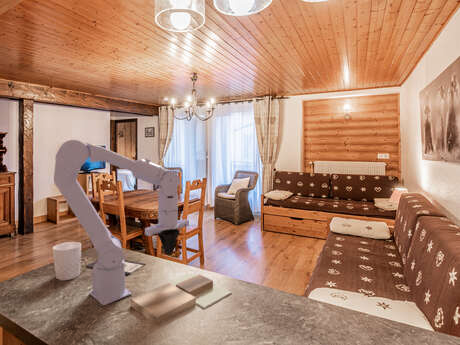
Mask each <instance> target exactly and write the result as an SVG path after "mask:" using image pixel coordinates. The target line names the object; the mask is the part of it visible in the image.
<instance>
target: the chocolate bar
mask: <svg viewBox="0 0 460 345" xmlns="http://www.w3.org/2000/svg"><path fill="white" fill-rule="evenodd" d="M124 261H125V277H126V276H130V275H131V274H133V273H135V272H136V270H137V271H138V270H140V269H142V268H143V267H144V266H143V265H145V266H146V263H144V262H138V261H130V260H127V259H124ZM97 262H98V259H97V260H95V261H94V262H93V261H92V263H91V262H90V263H89V264H87V265H85V268H87V267H88V268H87V269H92V268H93V267H94V266H95V264H96V263H97ZM142 266H143V267H142ZM139 268H140V269H139Z"/></svg>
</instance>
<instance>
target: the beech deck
mask: <svg viewBox="0 0 460 345" xmlns="http://www.w3.org/2000/svg"><path fill="white" fill-rule="evenodd" d="M166 283H167V284H166ZM166 283H164V284H165V285H164V284H162V285H160V286H158V287H155V288H152V289H151V290H149V291H146V292H144V293H140V294H139V295H136V296H134V297H131V298H130V307H132V308H133V309H135V311H137V313H140V314H141V315H142V316H144V317H145V318H146V319H148V320H149V321H150V322H151V323H153V324H154V325H155V326H159V325H161V324H162V323H165V322H166V321H168V320H170V319H172V318H173V317H176V316H177V315H179V314H182V313H183V312H185V311H187V310H189V309H190V308H193V307H194V306H196V305H197V304H196V297H194V296H192V295H190V294H189V293H187V292H185V291H183V290H181V289H180V288H178V287H176V286H174V285H172V284H170V283H168V282H166Z"/></svg>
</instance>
